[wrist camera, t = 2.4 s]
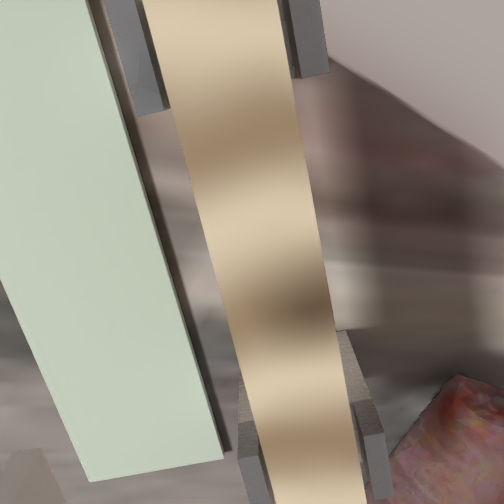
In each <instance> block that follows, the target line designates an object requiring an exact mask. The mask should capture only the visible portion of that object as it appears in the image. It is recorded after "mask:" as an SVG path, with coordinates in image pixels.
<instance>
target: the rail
mask: <svg viewBox="0 0 504 504" xmlns="http://www.w3.org/2000/svg"><path fill="white" fill-rule="evenodd" d="M142 1H143V5H144V9H145V13H146V16H147V20H148V24H149V28H150V31H151V35H152V39H153V43H154V46H155V50H156V54H157V58H158V61H159V65H160V69H161V73H162V76H163V80H164V84H165V88H166V91H167V95H168V99H169V103H170V106H171V110H172V114H173V118H174V121H175V125H176V129H177V133H178V136H179V140H180V144H181V148H182V151H183V155H184V159H185V163H186V166H187V170H188V174H189V178H190V181H191V185H192V189H193V193H194V196H195V200H196V204H197V208H198V211H199V215H200V219H201V223H202V226H203V230H204V234H205V238H206V241H207V245H208V249H209V253H210V256H211V260H212V264H213V268H214V271H215V275H216V279H217V282H218V286H219V290H220V294H221V297H222V301H223V305H224V309H225V312H226V316H227V320H228V324H229V327H230V331H231V335H232V339H233V342H234V346H235V350H236V354H237V357H238V361H239V365H240V369H241V372H242V376H243V380H244V384H245V387H246V391H247V395H248V399H249V402H250V406H251V410H252V414H253V417H254V421H255V425H256V429H257V432H258V436H259V440H260V444H261V447H262V451H263V455H264V459H265V462H266V466H267V470H268V474H269V477H270V481H271V485H272V489H273V492H274V496H275V500H276V504H367V501H366V495H365V490H364V484H363V478H362V473H361V467H360V462H359V456H358V451H357V445H356V439H355V434H354V428H353V423H352V417H351V411H350V406H349V400H348V395H347V389H346V383H345V378H344V372H343V367H342V361H341V356H340V350H339V344H338V339H337V333H336V328H335V322H334V316H333V311H332V305H331V300H330V294H329V289H328V283H327V277H326V272H325V266H324V261H323V255H322V249H321V244H320V238H319V233H318V227H317V222H316V216H315V210H314V205H313V199H312V194H311V188H310V182H309V177H308V171H307V166H306V160H305V154H304V149H303V143H302V138H301V132H300V127H299V121H298V115H297V110H296V104H295V99H294V93H293V87H292V82H291V76H290V71H289V65H288V60H287V54H286V48H285V43H284V37H283V32H282V26H281V20H280V15H279V9H278V4H277V0H142Z"/></svg>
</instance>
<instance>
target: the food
mask: <svg viewBox="0 0 504 504" xmlns="http://www.w3.org/2000/svg"><path fill="white" fill-rule="evenodd" d="M388 457H389V464H390V471H391V477H392V484H393V490H394V497H390V498H384V499H378V500H374V498H373V494H372V491H371V488H370V484H369V482H368V483H367V485H366V486H365V488H364V490H365V495H366V501H367V504H504V390H501V389H499V388H497V387H495V386H493V385H490V384H487V383H485V382H481V381H477V380H473V379H470V378H468V377H465V376H463V375H460V374H457V375H455V376H454V377H452V378H451V379H449V380H448V381H446V382H445V383H444V384H443V386H442V389H441V392H440V393H439V394H438V395H437V396H436V397H435V399H434V400H433V401H432V402H431V403H430V404H429V405H428V406H427V407H426V408H425V410H424V411H423V412H422V413H421V414H420V419H419V420H417V421H416V422H415V423H414V424H413V425H412V427H411V428H410V430H409V431H408V432H407V433H406V435H405V436H404V437H403V438H402V439H401V441H400V442H399V444H398V446H397V448H396V449H395V450H394V451H393V452H391V454H390V455H389V456H388Z"/></svg>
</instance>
